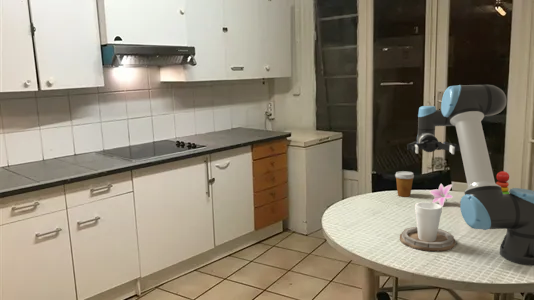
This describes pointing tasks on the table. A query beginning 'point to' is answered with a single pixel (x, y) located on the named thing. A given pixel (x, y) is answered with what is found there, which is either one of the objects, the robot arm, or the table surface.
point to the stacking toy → (503, 181)
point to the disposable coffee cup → (404, 183)
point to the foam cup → (427, 220)
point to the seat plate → (440, 244)
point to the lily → (441, 194)
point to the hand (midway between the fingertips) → (435, 150)
